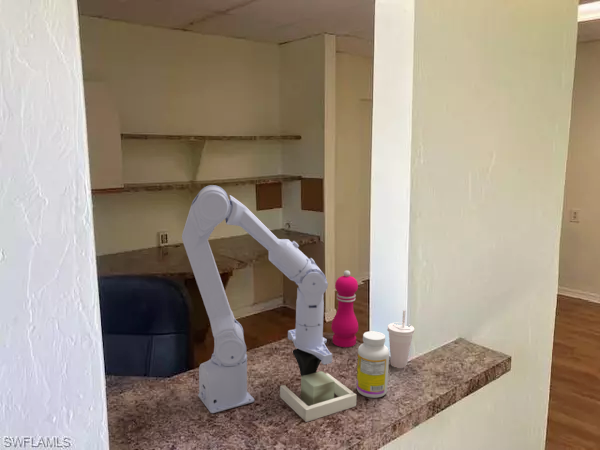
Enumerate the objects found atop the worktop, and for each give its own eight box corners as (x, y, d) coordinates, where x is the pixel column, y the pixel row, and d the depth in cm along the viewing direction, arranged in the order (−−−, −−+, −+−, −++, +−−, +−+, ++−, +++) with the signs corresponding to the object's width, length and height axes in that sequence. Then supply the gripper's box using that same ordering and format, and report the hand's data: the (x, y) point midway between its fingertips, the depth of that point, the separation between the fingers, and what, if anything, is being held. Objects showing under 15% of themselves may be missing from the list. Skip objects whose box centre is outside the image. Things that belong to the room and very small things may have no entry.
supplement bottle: (365, 380, 111) (367, 326, 108) (392, 389, 107) (395, 334, 105) (350, 392, 105) (352, 336, 103) (378, 402, 101) (381, 344, 99)
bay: (306, 422, 94) (306, 410, 93) (280, 397, 103) (280, 385, 102) (356, 406, 100) (356, 394, 99) (327, 383, 109) (327, 373, 108)
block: (312, 409, 98) (313, 386, 97) (300, 398, 102) (301, 376, 102) (333, 403, 101) (334, 381, 100) (320, 392, 105) (321, 371, 104)
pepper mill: (329, 346, 128) (331, 273, 125) (332, 336, 135) (334, 266, 132) (357, 349, 127) (360, 275, 124) (358, 338, 134) (361, 267, 131)
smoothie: (405, 373, 114) (408, 316, 112) (380, 365, 118) (383, 310, 116) (416, 364, 119) (420, 309, 117) (392, 356, 123) (395, 303, 121)
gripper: (345, 330, 98) (343, 392, 100) (307, 308, 110) (306, 364, 112) (315, 336, 94) (314, 401, 97) (280, 313, 106) (279, 371, 109)
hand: (307, 382), depth 104 cm, fingers closed
